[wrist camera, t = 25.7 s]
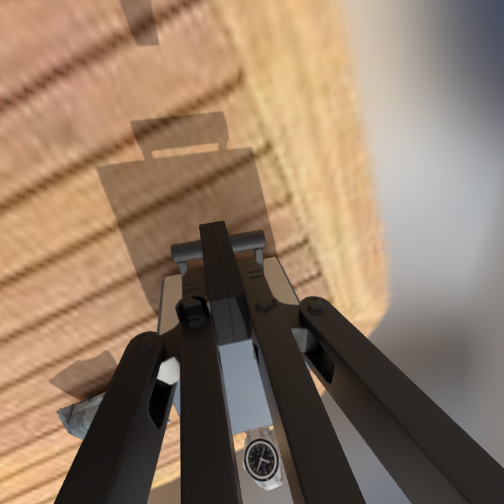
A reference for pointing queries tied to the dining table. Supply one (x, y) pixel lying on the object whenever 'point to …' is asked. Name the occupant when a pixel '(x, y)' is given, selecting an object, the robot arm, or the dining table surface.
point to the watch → (263, 458)
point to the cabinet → (239, 382)
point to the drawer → (239, 244)
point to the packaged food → (81, 416)
